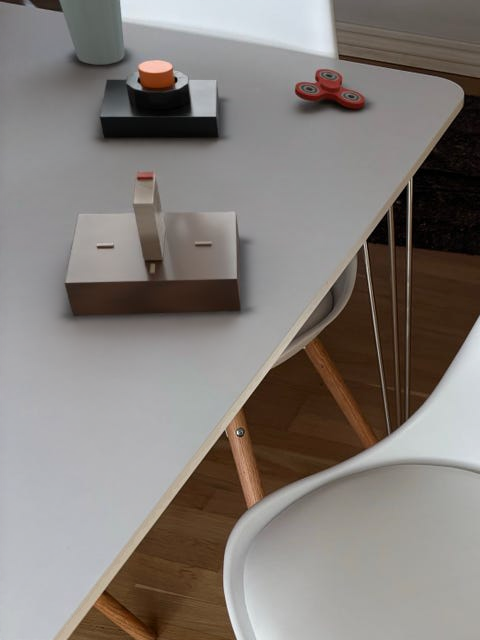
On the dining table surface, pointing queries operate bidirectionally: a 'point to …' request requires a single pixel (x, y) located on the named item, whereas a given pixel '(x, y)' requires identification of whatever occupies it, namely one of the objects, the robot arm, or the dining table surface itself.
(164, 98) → the button block
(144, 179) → the red-tipped white slab
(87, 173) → the dining table surface
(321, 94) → the fidget spinner
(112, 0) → the cup
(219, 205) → the dining table surface
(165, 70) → the button
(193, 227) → the panel
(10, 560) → the dining table surface
